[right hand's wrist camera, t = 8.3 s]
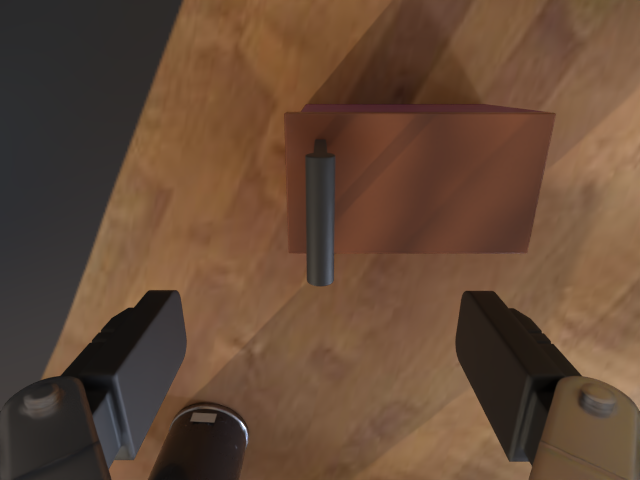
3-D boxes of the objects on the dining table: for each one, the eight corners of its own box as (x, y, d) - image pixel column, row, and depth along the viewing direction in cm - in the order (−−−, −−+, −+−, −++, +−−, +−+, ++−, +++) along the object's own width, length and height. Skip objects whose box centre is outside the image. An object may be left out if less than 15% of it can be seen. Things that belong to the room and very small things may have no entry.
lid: (289, 247, 29) (277, 310, 21) (285, 112, 25) (269, 124, 17) (519, 247, 29) (596, 311, 21) (546, 111, 25) (651, 124, 17)
